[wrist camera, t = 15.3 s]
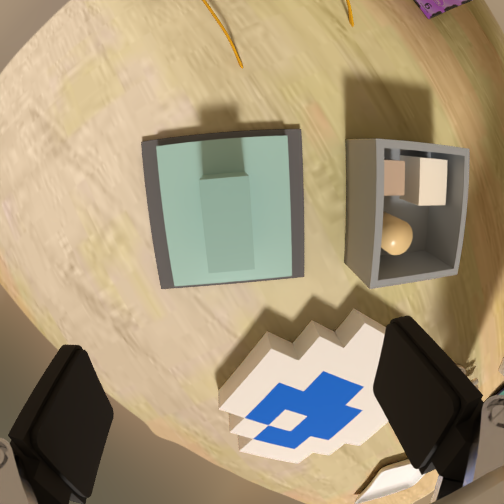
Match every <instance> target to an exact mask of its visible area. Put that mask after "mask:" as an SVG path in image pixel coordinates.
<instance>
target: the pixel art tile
mask: <svg viewBox="0 0 504 504" xmlns="http://www.w3.org/2000/svg"><path fill="white" fill-rule="evenodd" d="M385 330H386V327H385V326H383V325H381V324H380V323H378V322H376V321H375V320H373V319H371V318H369V317H368V316H366V315H364V314H363V313H361V312H359V311H358V310H356V309H354V308H353V310H352V311H351V312H350V313H349V315H348V316H347V317H346V318H345V320H344V321H343V322H342V323H341V325H340V326H339V327H338V328H337V329H336V331H335V332H334V331H332V330H330V329H328V328H326V327H324V326H322V325H320V324H319V323H317V322H315V321H313V320H311V321H310V323H309V324H308V325H307V326H306V327H305V329H304V330H303V331H302V332H301V334H300V335H299V336H298V337H297V338H296V340H295V341H294V342H293V343H291V342H289V341H287V340H285V339H283V338H281V337H279V336H276V335H274V334H272V333H270V332H268V331H267V332H266V333H265V334H264V335H263V337H262V338H261V339H260V340H259V342H258V343H257V344H256V345H255V347H254V348H253V349H252V350H251V352H250V353H249V354H248V355H247V357H246V358H245V359H244V360H243V362H242V363H241V364H240V365H239V366H238V368H237V369H236V370H235V371H234V373H233V374H232V375H231V376H230V377H229V379H228V380H227V381H226V382H225V383H224V384H223V386H222V387H221V388H220V389H219V390H218V398H219V409H220V410H223V411H225V412H228V413H229V430H230V433H234V434H237V435H238V445H239V451H241V452H245V453H249V454H253V455H257V456H262V457H266V458H271V459H276V460H281V461H286V462H291V463H297V464H298V463H300V462H301V461H302V460H304V459H305V458H306V457H308V456H309V455H310V454H312V453H318V454H324V455H331V454H332V453H333V452H335V451H336V450H337V449H338V448H340V447H341V446H342V445H343V444H345V443H346V444H352V445H358V446H360V445H361V444H363V443H364V442H365V441H366V440H367V439H369V438H370V437H371V436H372V435H373V434H375V433H376V432H377V431H378V430H379V429H380V428H381V427H383V426H384V425H385V424H386V423H387V422H388V419H387V417H386V416H385V414H384V412H383V410H382V408H381V406H380V405H379V403H378V401H377V399H376V397H375V396H374V393H373V383H374V379H375V375H376V371H377V367H378V363H379V359H380V354H381V350H382V345H383V340H384V335H385Z"/></svg>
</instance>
